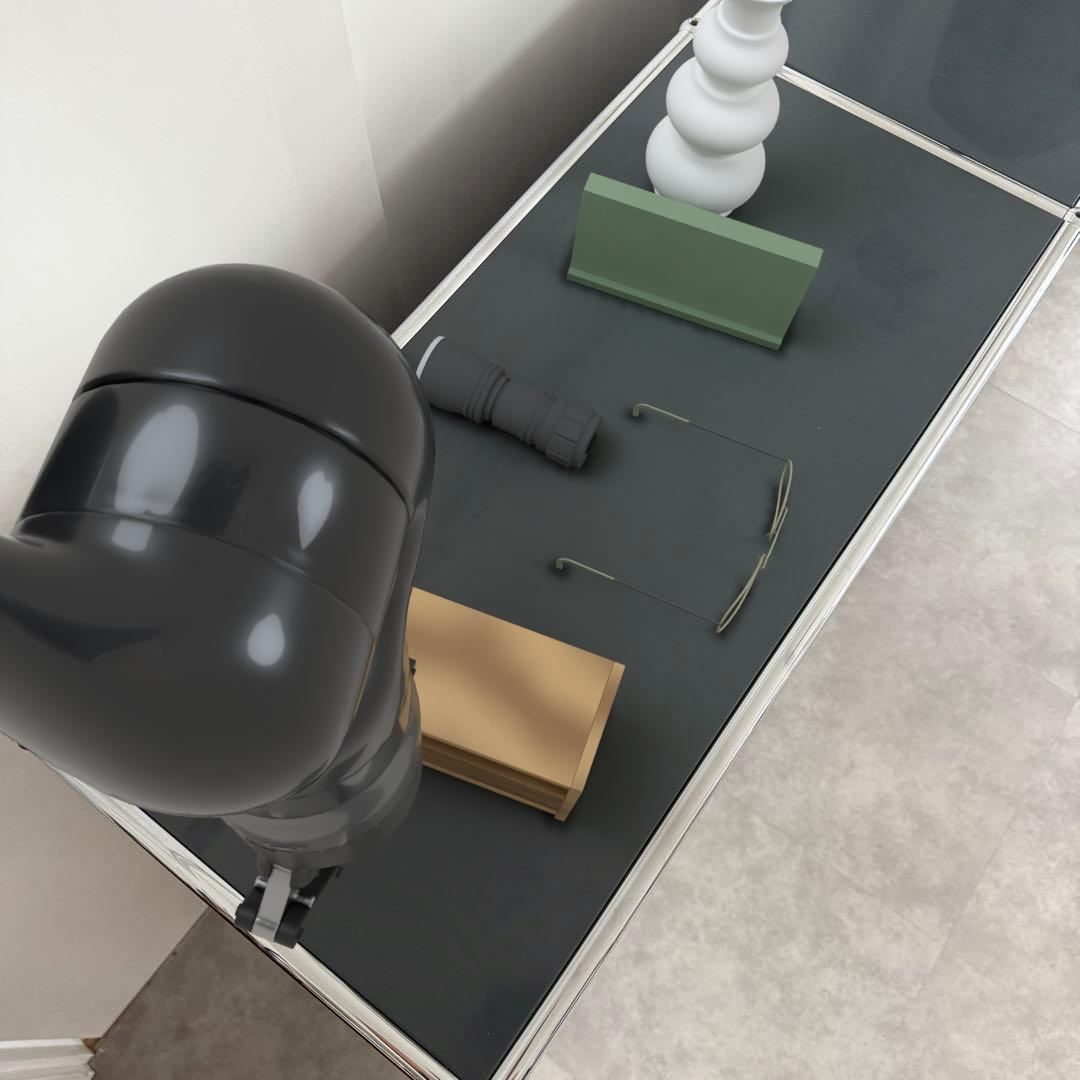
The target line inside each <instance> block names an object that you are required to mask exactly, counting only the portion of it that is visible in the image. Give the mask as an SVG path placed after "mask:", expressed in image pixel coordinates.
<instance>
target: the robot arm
mask: <svg viewBox="0 0 1080 1080" xmlns="http://www.w3.org/2000/svg"><path fill="white" fill-rule="evenodd" d="M434 424H435V423H434V419H433V415H432V411H431V406H430V403H428V400H427V397H426V394H425V392H424V389H423V387H422V385H421V383H420V380H419V378H418V376H417V374H416V371H415V368H414V367H413V365H412V364H411V361H410V360H409V359H408V357H407V356H406V354H405V353H404V351H403V350H402V349H401V347H400V346H399V345H398V344H397V342H396V341H395V340H394V338H392V336H391V335H390V334H389V332H388V331H386V329H384V327H383V326H382V325H381V324H380V323H379V322H378V321H377V320H375V318H373V317H372V316H371V315H370V314H369V313H367V311H366V310H364V309H363V308H362V307H361V306H360V305H358V304H357V303H356V302H355V301H352V300H351V299H350V298H349V297H347V296H345V295H344V294H343V293H341V292H339V291H338V290H336V289H334V288H333V287H331V286H329V285H327V284H326V283H323V282H321V281H319V280H317V279H315V278H312V277H310V276H308V275H306V274H303V273H300V272H298V271H294V270H291V269H286V268H283V267H279V266H274V265H267V264H263V263H251V262H250V263H249V262H235V263H234V262H232V263H231V262H230V263H214V264H206V265H201V266H197V267H194V268H190V269H187V270H185V271H182V272H179V273H177V274H175V275H172V276H170V277H166V278H165V279H163V280H161V281H159V282H157V283H155V284H153V285H152V286H149V288H147V289H146V290H145V291H143V292H141V294H139V295H138V296H137V297H136V298H135V299H134V300H133V301H132V302H131V303H129V304H128V305H127V306H126V307H125V308H124V309H123V310H122V311H121V312H120V313H119V315H117V317H116V318H115V319H114V321H113V322H112V323H111V325H110V326H109V327H108V329H107V330H106V331H105V333H104V335H103V336H102V338H101V339H100V341H99V342H98V344H97V347H96V348H95V351H94V352H93V354H92V357H91V359H90V361H89V363H88V365H87V368H86V369H85V371H84V374H83V375H82V378H81V380H80V382H79V384H78V386H77V388H76V391H75V392H74V394H73V397H72V398H71V402H70V404H69V406H68V408H67V410H66V413H65V415H64V416H63V419H62V421H61V423H60V425H59V428H58V430H57V432H56V434H55V436H54V438H53V440H52V442H51V444H50V447H49V449H48V451H47V453H46V456H45V458H44V460H43V462H42V464H41V467H40V468H39V470H38V472H37V475H36V477H35V479H34V481H33V484H32V486H31V487H30V490H29V492H28V494H27V496H26V498H25V501H24V503H23V504H22V507H21V509H20V512H19V514H18V516H17V518H16V520H15V522H14V524H13V527H12V528H11V530H10V531H9V533H8V534H6V533H4V532H3V533H2V532H0V733H1V734H2V735H4V736H6V737H7V738H9V739H10V740H12V741H14V742H15V743H16V744H18V745H19V746H21V747H23V748H24V749H26V750H28V751H29V752H31V753H32V754H33V755H35V756H37V757H38V758H40V759H42V760H43V761H45V762H46V763H48V764H49V765H51V766H53V767H54V768H55V769H58V770H60V771H61V772H63V773H65V774H67V775H69V776H71V777H72V778H74V779H76V780H78V781H80V782H82V783H83V784H85V785H87V786H89V787H91V788H93V789H95V790H97V791H99V792H100V793H102V794H104V795H106V796H109V797H111V798H113V799H115V800H118V801H121V802H123V803H126V804H128V805H131V806H134V807H138V808H140V809H143V810H147V811H151V812H155V813H159V814H160V813H161V814H166V815H171V816H175V817H185V818H186V817H187V818H196V819H197V818H201V819H202V818H220V819H221V820H222V821H223V822H224V823H225V824H226V825H227V826H228V827H229V828H230V829H231V830H232V831H233V832H234V833H235V834H236V835H237V836H238V837H239V838H240V839H241V840H242V841H243V842H244V843H245V844H246V845H248V847H250V848H251V849H252V850H253V851H255V852H256V853H257V854H256V861H255V862H256V869H257V871H258V873H259V875H257V876H256V879H255V881H254V883H253V887H252V888H251V890H250V891H249V892H248V894H247V895H246V896H245V897H244V899H243V900H242V902H240V903H238V905H237V907H236V909H235V912H234V916H235V917H234V920H233V921H234V922H233V927H235V928H237V929H240V930H243V931H245V932H248V933H250V934H251V935H254V936H256V937H258V938H262V939H264V940H266V941H269V942H271V943H274V944H278V945H280V946H283V947H285V948H288V949H291V950H294V948H295V947H296V945H297V944H298V942H301V941H302V939H303V937H304V935H305V932H306V930H307V928H308V927H309V925H310V923H311V922H312V920H313V919H314V917H315V916H316V914H317V912H318V910H319V909H320V907H321V906H322V904H323V903H324V901H325V900H326V898H327V896H328V894H330V892H331V890H332V889H333V887H334V885H335V883H336V882H337V879H338V880H340V879H341V877H342V875H343V873H344V869H345V867H344V864H346V863H349V862H352V861H355V860H357V859H359V858H361V857H363V856H365V855H367V854H368V853H370V852H372V851H373V850H375V849H376V848H378V847H379V846H380V845H381V844H383V843H384V842H385V841H387V839H388V838H389V837H391V836H392V835H393V834H394V833H395V832H396V830H397V829H398V828H399V827H400V825H401V824H402V823H403V821H404V820H405V818H406V817H407V815H408V814H409V812H410V810H411V808H412V806H413V804H414V802H415V800H416V798H417V795H418V792H419V789H420V784H421V779H422V773H423V764H422V733H421V711H420V702H419V696H418V692H417V688H416V684H415V681H414V675H415V673H416V669H415V665H416V660H415V659H412V658H409V654H408V645H407V641H406V626H407V615H408V606H409V601H410V596H411V592H412V587H414V583H415V580H416V579H415V578H416V574H417V570H418V564H419V559H420V555H421V549H422V544H423V539H424V534H425V530H426V529H425V528H426V524H427V517H428V512H429V507H430V501H431V495H432V488H433V481H434V472H435V464H436V433H435V425H434Z"/></svg>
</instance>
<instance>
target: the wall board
mask: <svg viewBox="0 0 1080 1080" xmlns="http://www.w3.org/2000/svg"><path fill="white" fill-rule="evenodd" d="M823 253H824V249H823V248H820V247H818V246H814V245H812V244H808V243H806V242H802V241H799V240H796V239H793V238H790V237H788V236H784V235H781V234H779V233H775V232H772V231H769V230H766V229H763V228H760V227H757V226H754V225H751V224H748V223H745V222H742V221H739V220H736V219H733V218H730V217H727V216H726V217H724V216H721V215H718V214H715V213H712V212H709V211H706V210H703V209H700V208H697V207H694V206H691V205H688V204H685V203H682V202H679V201H676V200H673V199H670V198H667V197H664V196H661V195H658V194H655V192H652V191H649V190H645V189H642V188H640V187H637V186H634V185H630V184H628V183H626V182H621V181H618V180H616V179H613V178H610V177H607V176H604V175H600V174H599V173H595V172H590V173H589V176H588V178H587V180H586V183H585V185H584V187H583V189H582V196H581V201H580V207H579V212H578V219H577V225H576V231H575V236H574V242H573V247H572V254H571V259H570V264H569V268H568V270H567V273H566V280H568V281H570V282H574V283H576V284H579V285H582V286H585V287H588V288H590V289H594V290H597V291H600V292H602V293H606V294H609V295H612V296H614V297H618V298H621V299H623V300H626V301H630V302H632V303H635V304H638V305H641V306H644V307H647V308H649V309H653V310H656V311H659V312H662V313H665V314H667V315H670V316H674V317H675V318H679V319H682V320H685V321H688V322H692V323H694V324H696V325H700V326H703V327H706V328H709V329H712V330H714V331H718V332H721V333H724V334H727V335H730V336H732V337H735V338H738V339H741V340H745V341H747V342H749V343H753V344H755V345H759V346H762V347H765V348H768V349H770V350H773V351H777V352H778V351H779V349H780V347H781V346H782V342H783V339H784V337H785V335H786V333H787V331H788V328H789V327H790V325H791V323H792V321H793V319H794V318H795V315H796V313H797V311H798V309H799V307H800V305H801V303H802V301H803V298H804V297H805V295H806V293H807V291H808V289H809V287H810V285H811V283H812V281H813V279H814V277H815V275H816V273H817V271H818V269H819V267H820V262H821V260H822V256H823Z"/></svg>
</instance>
